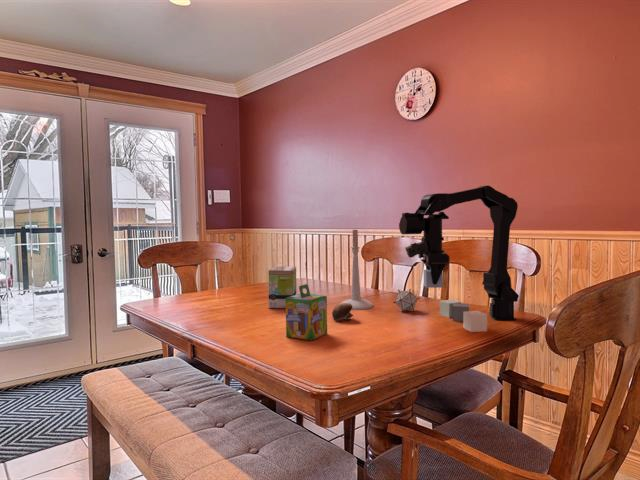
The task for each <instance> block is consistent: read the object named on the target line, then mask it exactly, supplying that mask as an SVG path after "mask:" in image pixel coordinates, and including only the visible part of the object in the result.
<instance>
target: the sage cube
mask: <svg viewBox="0 0 640 480" xmlns="http://www.w3.org/2000/svg"><path fill="white" fill-rule="evenodd" d="M453 303H461V304H462V302H461V301H459V300H454V299H446V300H440V301H439V316H443V317H445V318H448V319H451V318H452V319H453Z"/></svg>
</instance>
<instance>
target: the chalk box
mask: <svg viewBox="0 0 640 480" xmlns="http://www.w3.org/2000/svg"><path fill="white" fill-rule="evenodd" d="M298 288H299V289H298V290H299V294H296V295H294V296H290V297H287V298H285V302H286V308H285V331H286V332H285V333H286V335H285V337H286V338H290V337H291V338H290V339H292V338H293V339H300V340H306V341H314V340H316V339H318V338H320V337H324V336H325V334H326V335H327V334H328V300H327V299H328V296H327V295H322V294H321V295H320V294H314V293H311V292H310V288H309V285H308V283H306V284H302V285H299V286H298ZM303 290H306V292H305V293H304V292H303Z"/></svg>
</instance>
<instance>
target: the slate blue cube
mask: <svg viewBox="0 0 640 480" xmlns="http://www.w3.org/2000/svg"><path fill="white" fill-rule="evenodd" d="M443 272H444V270H443V271H442V273H441V276H440V278H439V280H438V282H437V284H433V282H432V276H431V271H430V270H427V269H423V286H424V287H425V288H428V289H430V288H431V289H432V288H434V289H435V288H437V289H439V288H443V287H444V284H443V283H444V277H443V276H444V274H443Z"/></svg>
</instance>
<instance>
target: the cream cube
mask: <svg viewBox="0 0 640 480" xmlns="http://www.w3.org/2000/svg"><path fill="white" fill-rule="evenodd" d="M462 323H463V325H462V326H463V329H465V330H467V331H468V332H470V333H474V332H475V333H476V332H480V333H482V332H488V314H487V313H484V312H482V311H481V310H475V311H474V310H469V311H468V312H463V322H462Z"/></svg>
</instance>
